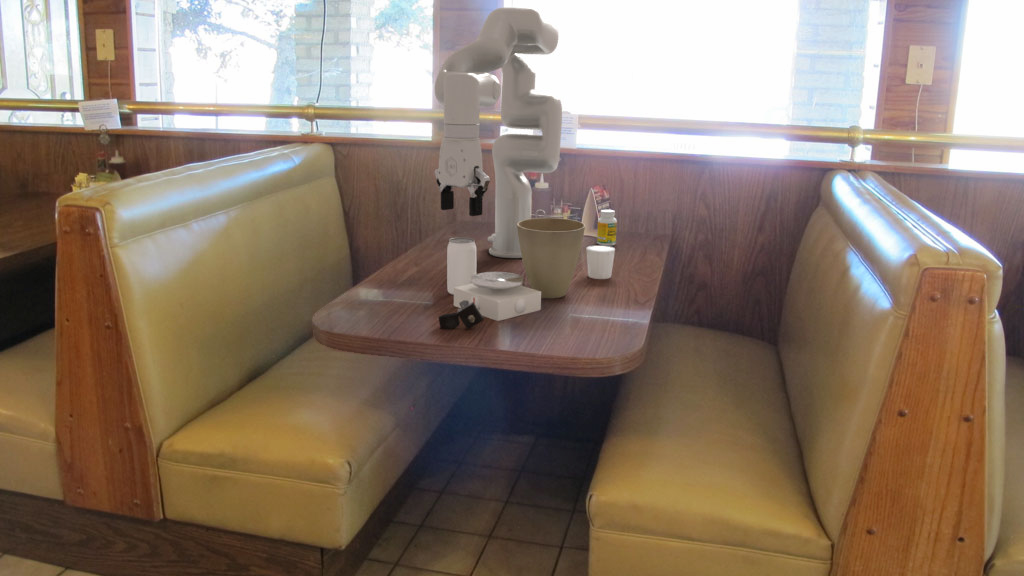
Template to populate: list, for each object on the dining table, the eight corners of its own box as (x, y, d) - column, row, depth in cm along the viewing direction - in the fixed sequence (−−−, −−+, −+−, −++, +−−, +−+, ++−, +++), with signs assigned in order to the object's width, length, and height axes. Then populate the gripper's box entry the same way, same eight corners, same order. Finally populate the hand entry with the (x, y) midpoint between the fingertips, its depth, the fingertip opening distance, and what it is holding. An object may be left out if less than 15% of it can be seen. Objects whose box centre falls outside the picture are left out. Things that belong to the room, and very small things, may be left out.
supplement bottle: (605, 241, 243) (606, 208, 241) (619, 244, 240) (621, 210, 237) (593, 243, 240) (594, 210, 237) (607, 246, 236) (609, 213, 233)
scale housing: (452, 306, 178) (452, 287, 177) (496, 295, 186) (496, 278, 185) (497, 321, 168) (497, 302, 167) (541, 310, 176) (542, 291, 175)
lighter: (448, 341, 163) (433, 320, 162) (449, 338, 165) (435, 316, 164) (483, 321, 162) (468, 299, 161) (484, 318, 164) (469, 296, 162)
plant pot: (503, 290, 191) (504, 220, 186) (558, 282, 198) (560, 215, 194) (538, 307, 178) (540, 233, 174) (595, 298, 185) (598, 227, 181)
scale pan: (460, 285, 176) (460, 277, 176) (499, 277, 183) (499, 269, 183) (495, 296, 168) (495, 288, 168) (534, 287, 176) (534, 279, 175)
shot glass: (612, 280, 200) (613, 251, 199) (583, 278, 202) (584, 250, 200) (614, 273, 207) (616, 245, 205) (587, 271, 208) (588, 244, 206)
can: (447, 288, 191) (446, 236, 188) (475, 288, 192) (475, 236, 189) (447, 296, 185) (447, 243, 182) (476, 296, 185) (477, 243, 182)
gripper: (422, 130, 183) (423, 208, 187) (474, 136, 170) (473, 219, 175) (449, 129, 187) (449, 205, 192) (502, 134, 175) (500, 216, 180)
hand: (461, 212), depth 183 cm, fingers open, 9 cm apart
